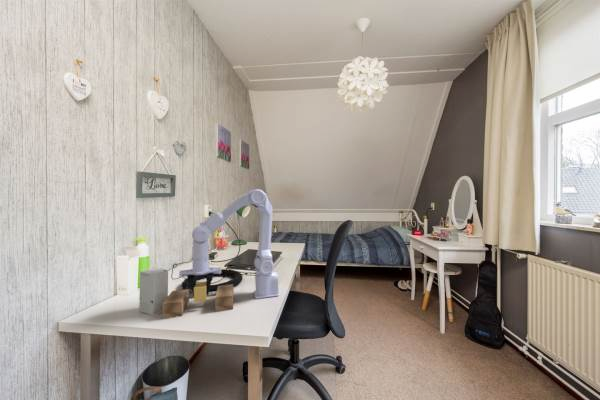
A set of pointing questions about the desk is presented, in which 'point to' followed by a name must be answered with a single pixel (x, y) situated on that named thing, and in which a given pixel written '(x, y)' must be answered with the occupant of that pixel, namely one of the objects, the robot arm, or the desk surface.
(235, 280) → the cable lock
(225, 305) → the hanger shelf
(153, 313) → the skincare box
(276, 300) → the desk surface
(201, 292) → the yellow block
